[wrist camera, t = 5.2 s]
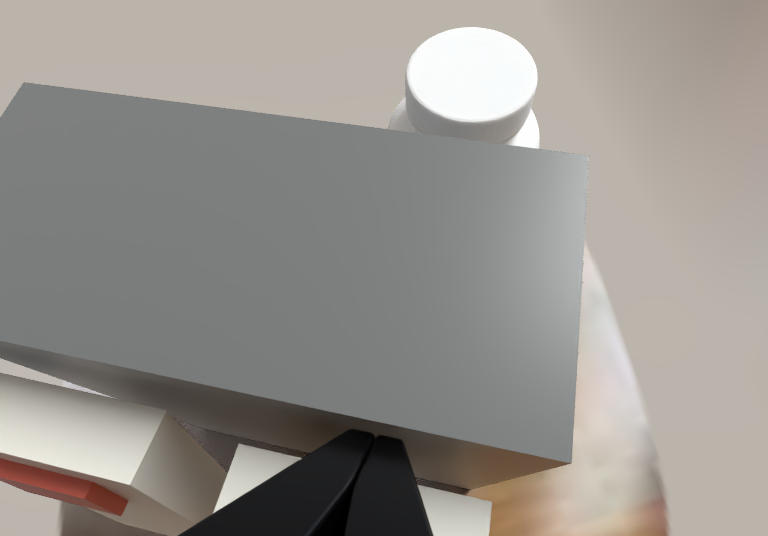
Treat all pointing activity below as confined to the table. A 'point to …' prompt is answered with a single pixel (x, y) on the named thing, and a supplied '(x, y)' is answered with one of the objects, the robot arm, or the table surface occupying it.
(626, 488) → the table surface
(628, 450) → the table surface
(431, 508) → the block
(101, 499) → the block
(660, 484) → the table surface
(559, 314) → the switch box
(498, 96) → the supplement bottle
